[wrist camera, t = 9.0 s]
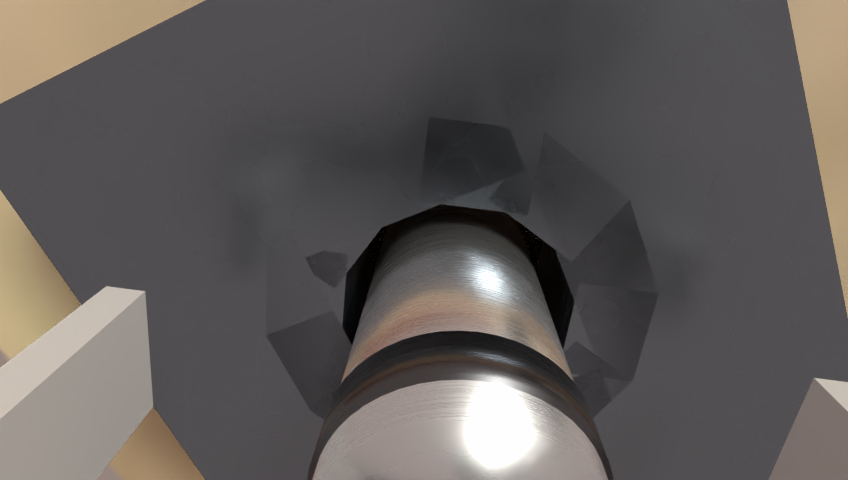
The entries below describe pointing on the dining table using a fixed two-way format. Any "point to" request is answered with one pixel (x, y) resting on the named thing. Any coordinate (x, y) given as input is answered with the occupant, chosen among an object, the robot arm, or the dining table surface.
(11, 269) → the dining table surface
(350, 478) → the silver metal cylinder
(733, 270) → the flange plate
